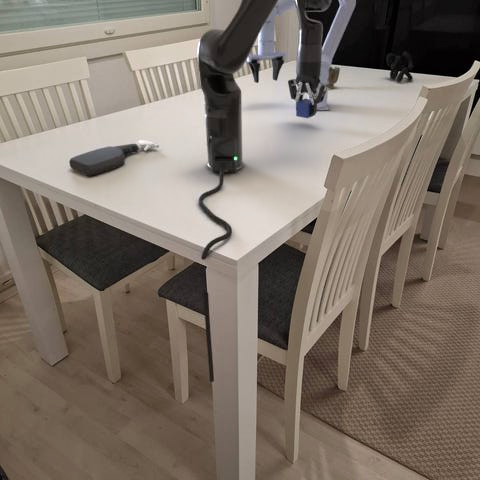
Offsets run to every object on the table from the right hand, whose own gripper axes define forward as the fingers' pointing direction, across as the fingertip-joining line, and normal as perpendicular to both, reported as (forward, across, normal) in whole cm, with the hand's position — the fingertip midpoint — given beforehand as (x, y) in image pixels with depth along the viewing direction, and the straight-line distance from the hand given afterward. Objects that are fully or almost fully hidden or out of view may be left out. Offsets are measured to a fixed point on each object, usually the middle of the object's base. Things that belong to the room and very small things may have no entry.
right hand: (265, 81), depth 162 cm
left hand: (+6, +1, -26) cm, 27 cm away
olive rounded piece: (+9, +38, +13) cm, 41 cm away
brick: (+6, +1, -26) cm, 27 cm away
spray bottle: (+9, -61, -28) cm, 68 cm away
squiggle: (+9, +73, +10) cm, 74 cm away
